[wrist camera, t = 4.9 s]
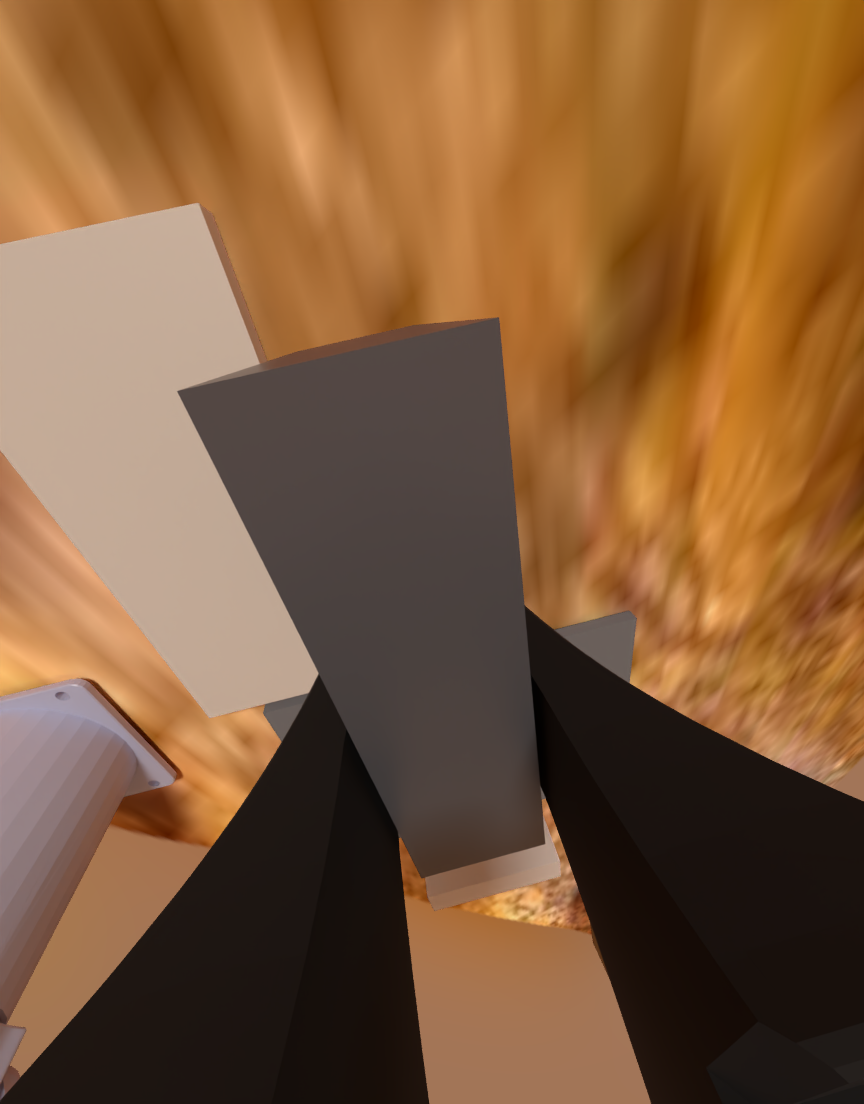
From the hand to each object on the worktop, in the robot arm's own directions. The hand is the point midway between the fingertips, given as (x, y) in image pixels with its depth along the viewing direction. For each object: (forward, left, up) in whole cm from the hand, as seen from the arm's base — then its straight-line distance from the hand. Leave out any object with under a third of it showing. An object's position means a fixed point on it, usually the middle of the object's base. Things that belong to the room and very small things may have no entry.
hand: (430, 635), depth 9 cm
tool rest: (-7, +1, -7) cm, 10 cm away
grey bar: (0, -1, -2) cm, 3 cm away
